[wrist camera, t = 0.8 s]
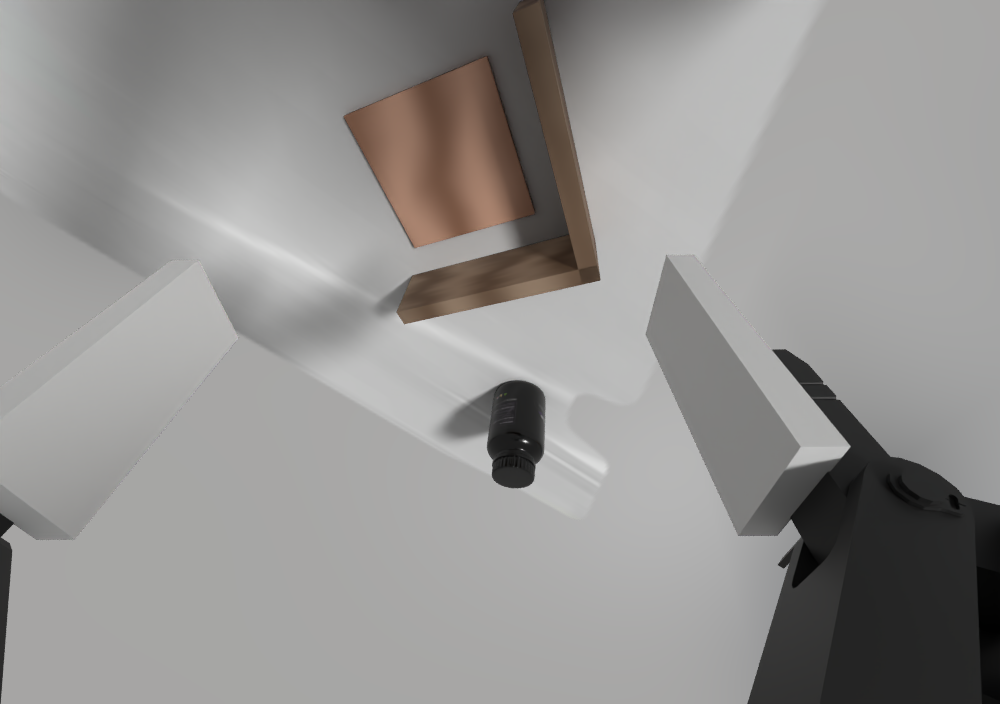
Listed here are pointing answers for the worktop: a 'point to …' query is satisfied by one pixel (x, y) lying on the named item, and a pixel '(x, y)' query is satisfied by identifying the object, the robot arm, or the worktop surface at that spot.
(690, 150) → the worktop surface
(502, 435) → the supplement bottle
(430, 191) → the corner arena
